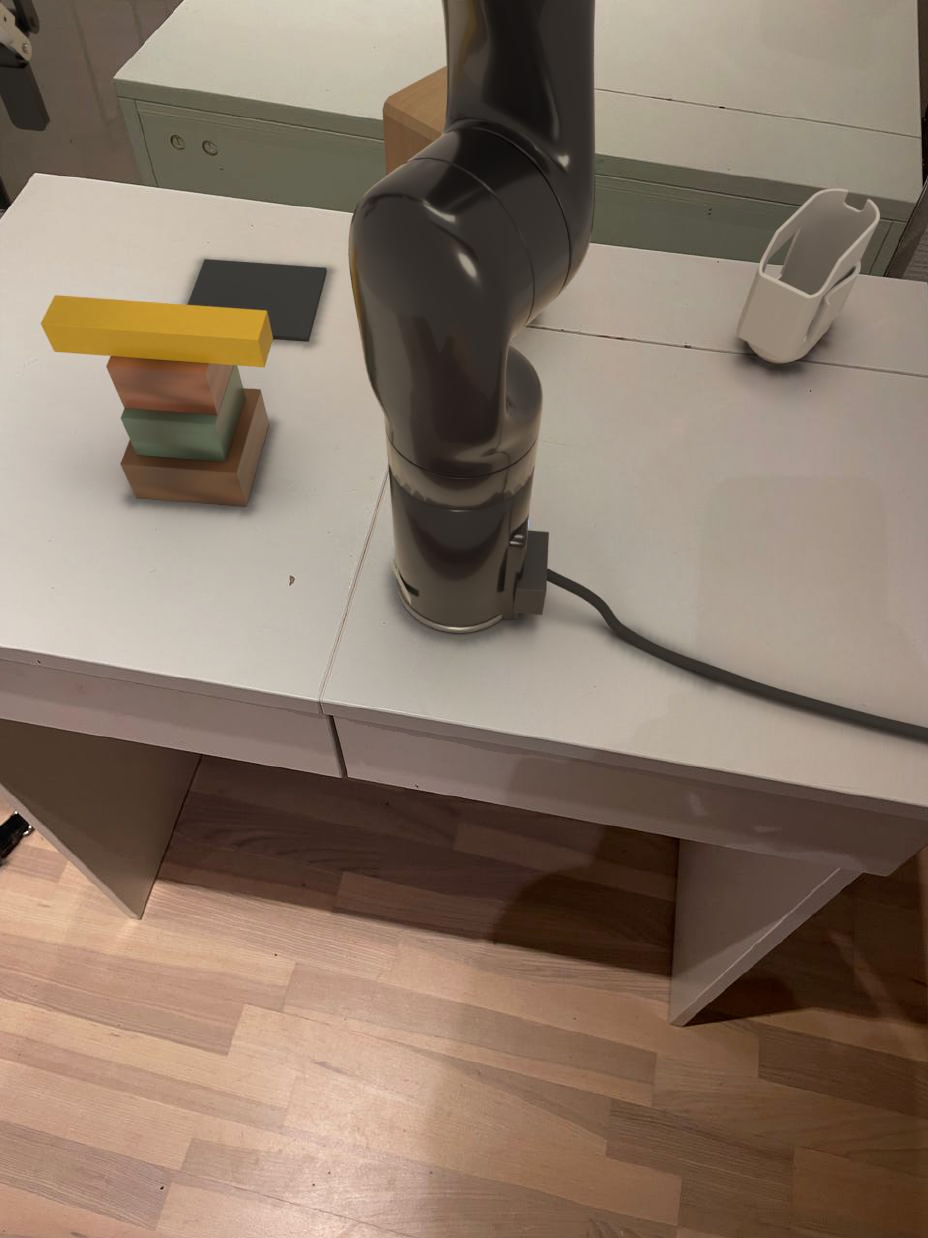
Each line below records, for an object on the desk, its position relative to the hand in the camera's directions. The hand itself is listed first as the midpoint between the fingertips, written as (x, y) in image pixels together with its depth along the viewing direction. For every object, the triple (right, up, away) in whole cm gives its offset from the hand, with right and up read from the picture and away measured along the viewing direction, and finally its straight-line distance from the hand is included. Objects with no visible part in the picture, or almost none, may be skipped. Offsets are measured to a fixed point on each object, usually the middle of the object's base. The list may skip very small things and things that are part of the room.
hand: (6, 165), depth 52 cm
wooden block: (+28, +1, +30) cm, 41 cm away
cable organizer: (+56, -2, +28) cm, 63 cm away
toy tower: (+6, -14, +20) cm, 25 cm away
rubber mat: (+8, +3, +30) cm, 31 cm away
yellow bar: (+6, -8, +10) cm, 14 cm away
